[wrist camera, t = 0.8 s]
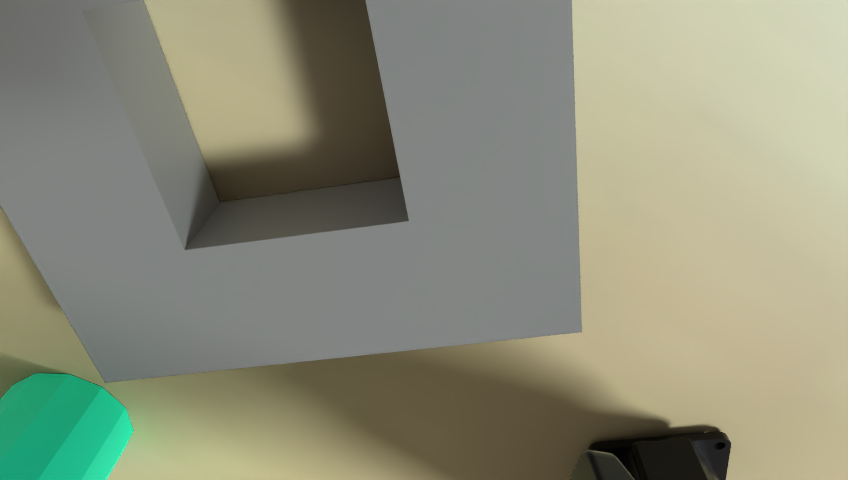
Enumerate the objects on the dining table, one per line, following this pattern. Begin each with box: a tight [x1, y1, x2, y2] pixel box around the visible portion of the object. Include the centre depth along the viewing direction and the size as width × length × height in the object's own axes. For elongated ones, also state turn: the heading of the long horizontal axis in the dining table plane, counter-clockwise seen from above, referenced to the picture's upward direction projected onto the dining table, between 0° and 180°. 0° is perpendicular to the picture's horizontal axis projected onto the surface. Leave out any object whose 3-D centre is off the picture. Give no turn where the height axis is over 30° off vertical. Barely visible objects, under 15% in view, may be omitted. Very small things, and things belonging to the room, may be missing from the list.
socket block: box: [0, 0, 582, 383], centre depth 18 cm, size 18×18×4 cm
